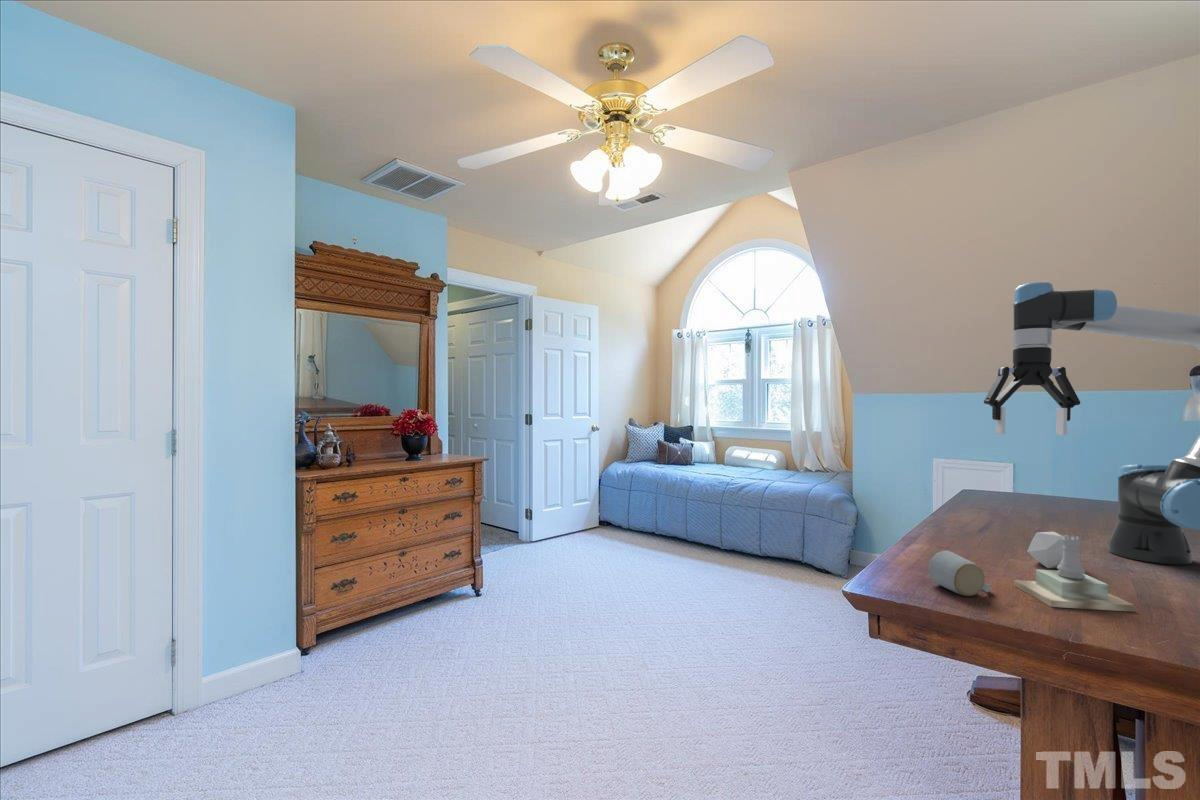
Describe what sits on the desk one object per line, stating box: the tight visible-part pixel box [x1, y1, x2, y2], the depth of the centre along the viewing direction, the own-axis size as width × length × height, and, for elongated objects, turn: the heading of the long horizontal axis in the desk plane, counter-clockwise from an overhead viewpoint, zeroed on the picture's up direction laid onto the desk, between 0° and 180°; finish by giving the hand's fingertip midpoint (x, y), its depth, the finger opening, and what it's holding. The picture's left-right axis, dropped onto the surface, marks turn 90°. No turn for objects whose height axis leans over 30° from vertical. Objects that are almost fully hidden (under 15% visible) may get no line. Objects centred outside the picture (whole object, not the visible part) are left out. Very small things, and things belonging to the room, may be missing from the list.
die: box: [1026, 531, 1064, 569], centre depth 133 cm, size 8×9×10 cm
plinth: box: [1013, 569, 1135, 612], centre depth 112 cm, size 14×12×4 cm
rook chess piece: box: [1056, 534, 1086, 580], centre depth 112 cm, size 4×4×8 cm
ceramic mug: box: [928, 550, 992, 597], centre depth 116 cm, size 10×8×7 cm
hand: (1030, 434), depth 138 cm, fingers open, 13 cm apart
